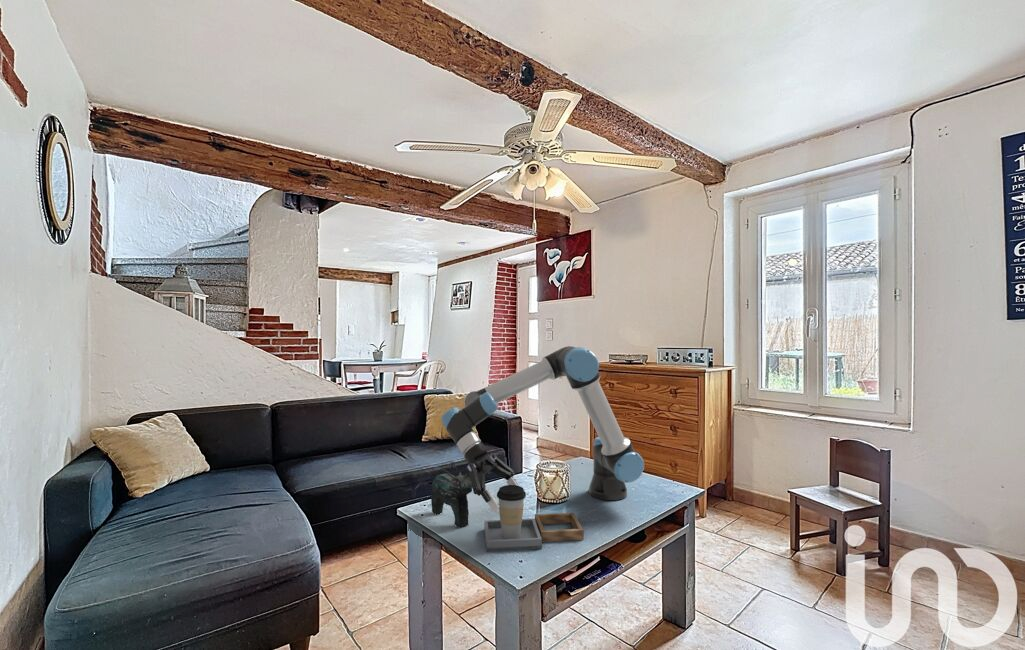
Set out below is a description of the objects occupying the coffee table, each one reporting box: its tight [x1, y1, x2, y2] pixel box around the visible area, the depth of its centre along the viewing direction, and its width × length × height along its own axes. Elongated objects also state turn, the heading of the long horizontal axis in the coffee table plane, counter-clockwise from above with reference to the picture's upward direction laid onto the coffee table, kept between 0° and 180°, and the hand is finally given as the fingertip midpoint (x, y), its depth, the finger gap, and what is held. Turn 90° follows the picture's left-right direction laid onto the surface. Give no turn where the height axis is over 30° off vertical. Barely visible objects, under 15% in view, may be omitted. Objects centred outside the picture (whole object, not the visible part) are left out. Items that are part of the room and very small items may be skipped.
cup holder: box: [534, 512, 585, 543], centre depth 154 cm, size 14×14×3 cm
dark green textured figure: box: [430, 463, 473, 529], centre depth 162 cm, size 20×6×20 cm, turn 43°
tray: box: [483, 518, 543, 552], centre depth 148 cm, size 17×15×3 cm
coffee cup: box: [496, 484, 527, 539], centre depth 148 cm, size 9×9×15 cm
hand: (509, 502), depth 148 cm, fingers open, 13 cm apart
